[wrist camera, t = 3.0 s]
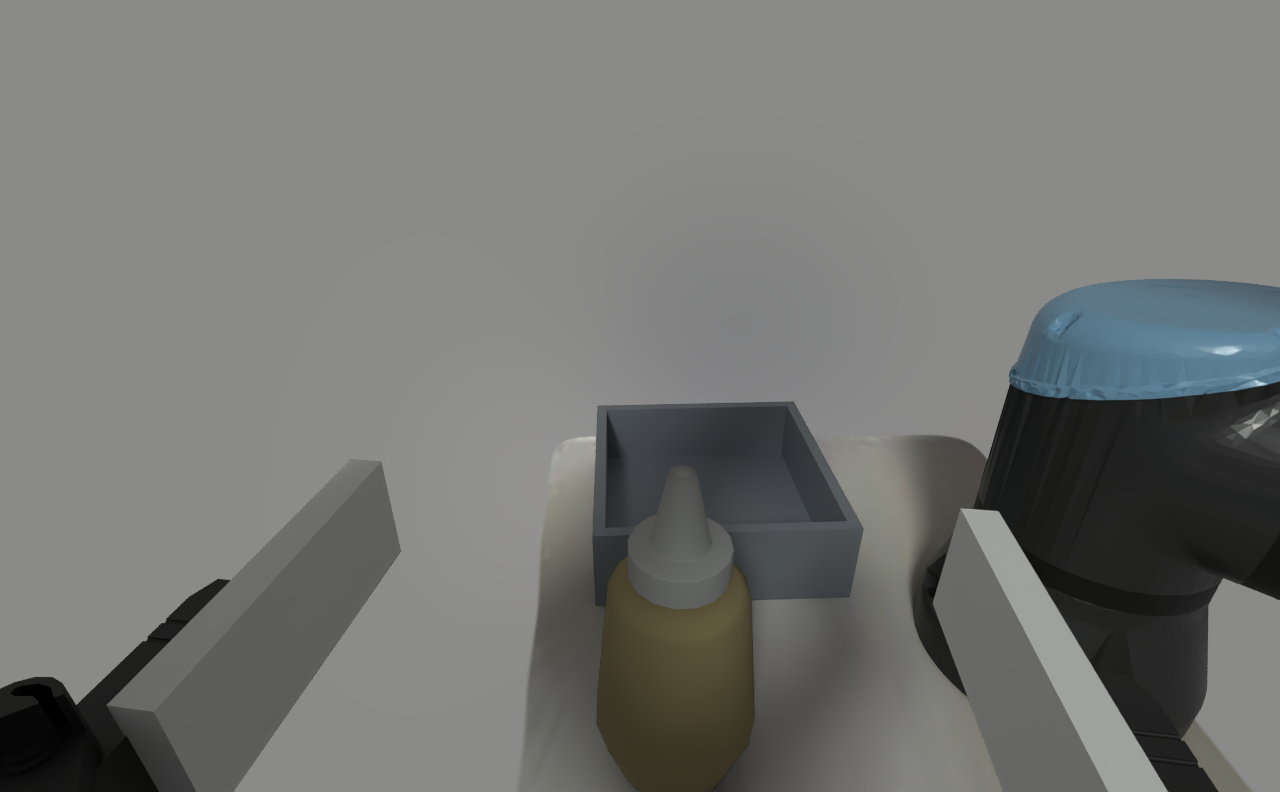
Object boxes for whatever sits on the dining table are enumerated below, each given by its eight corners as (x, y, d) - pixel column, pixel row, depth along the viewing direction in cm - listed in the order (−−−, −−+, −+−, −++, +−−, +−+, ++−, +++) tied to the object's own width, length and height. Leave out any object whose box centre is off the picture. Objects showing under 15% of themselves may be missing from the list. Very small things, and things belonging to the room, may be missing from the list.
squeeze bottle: (748, 844, 30) (791, 550, 21) (582, 817, 31) (560, 527, 22) (748, 694, 37) (779, 430, 28) (612, 677, 38) (604, 417, 30)
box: (599, 462, 59) (597, 405, 56) (786, 457, 59) (793, 401, 56) (595, 604, 43) (592, 536, 40) (849, 596, 44) (863, 528, 41)
